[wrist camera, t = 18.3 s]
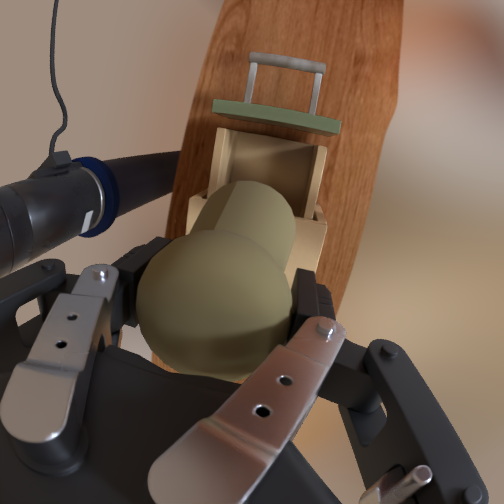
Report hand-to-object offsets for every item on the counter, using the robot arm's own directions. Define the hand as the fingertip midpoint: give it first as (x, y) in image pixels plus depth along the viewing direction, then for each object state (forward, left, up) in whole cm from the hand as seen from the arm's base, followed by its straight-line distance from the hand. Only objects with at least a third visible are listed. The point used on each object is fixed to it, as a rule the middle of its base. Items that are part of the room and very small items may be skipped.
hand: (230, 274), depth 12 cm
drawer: (-4, +2, -21) cm, 22 cm away
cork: (0, 0, -7) cm, 7 cm away
